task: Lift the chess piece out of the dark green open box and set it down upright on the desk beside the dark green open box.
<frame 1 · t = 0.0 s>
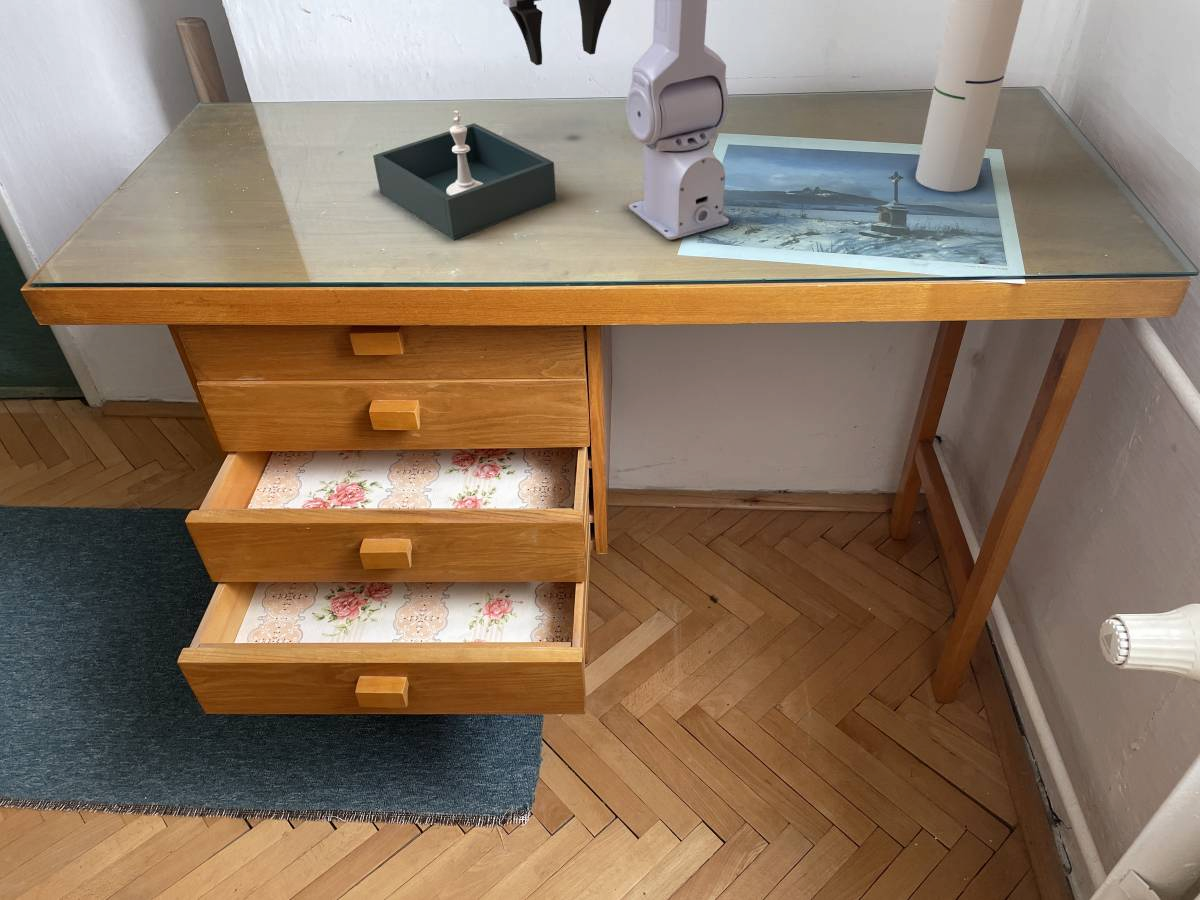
hand: (563, 57, 118), 10 cm above the table, tool pointing down, fingers open, 7 cm apart
dark green open box: (467, 196, 111), on the table
chess piece: (466, 195, 111), resting on dark green open box
cylindrical container: (945, 180, 111), on the table
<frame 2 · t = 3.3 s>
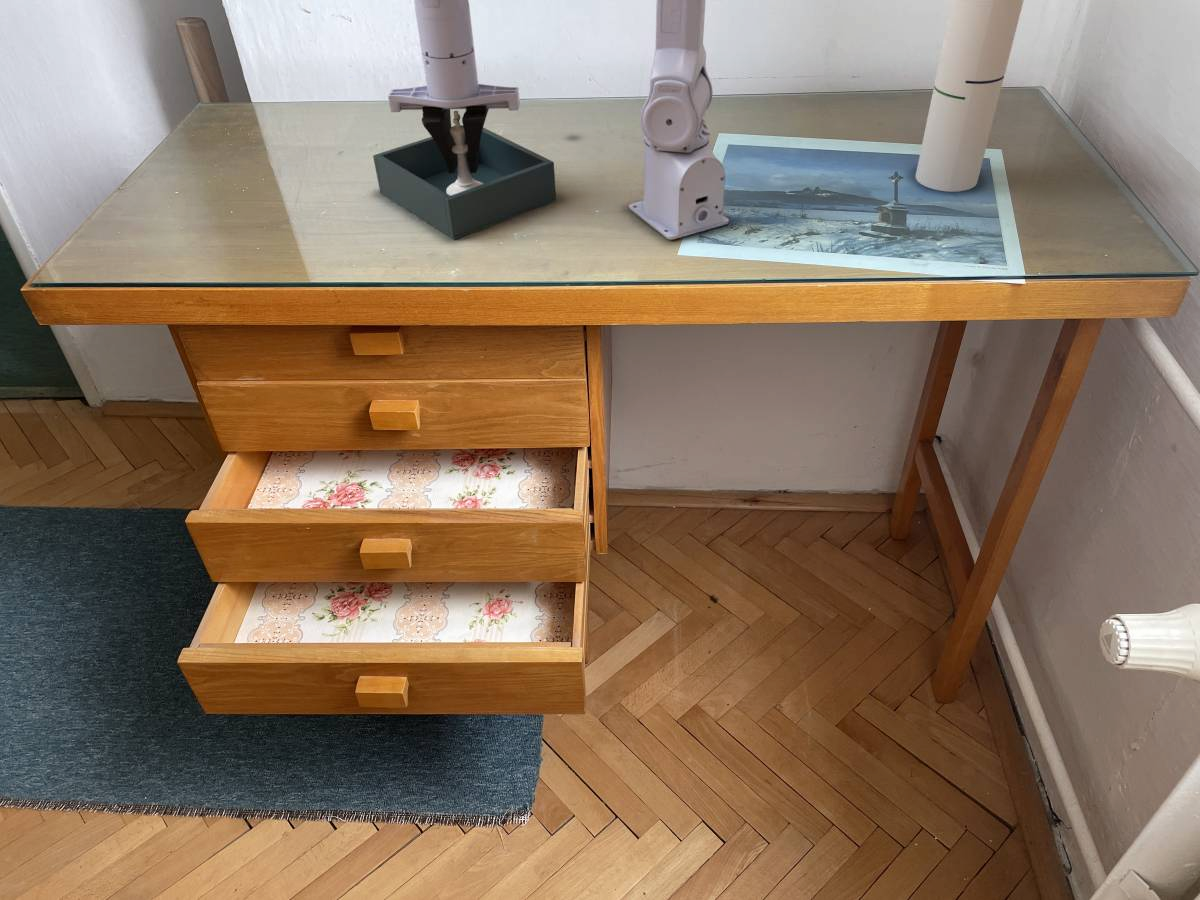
hand: (463, 169, 108), 3 cm above the table, tool pointing down, fingers closed on chess piece
chess piece: (466, 195, 111), resting on dark green open box, touching gripper
everything else where it was.
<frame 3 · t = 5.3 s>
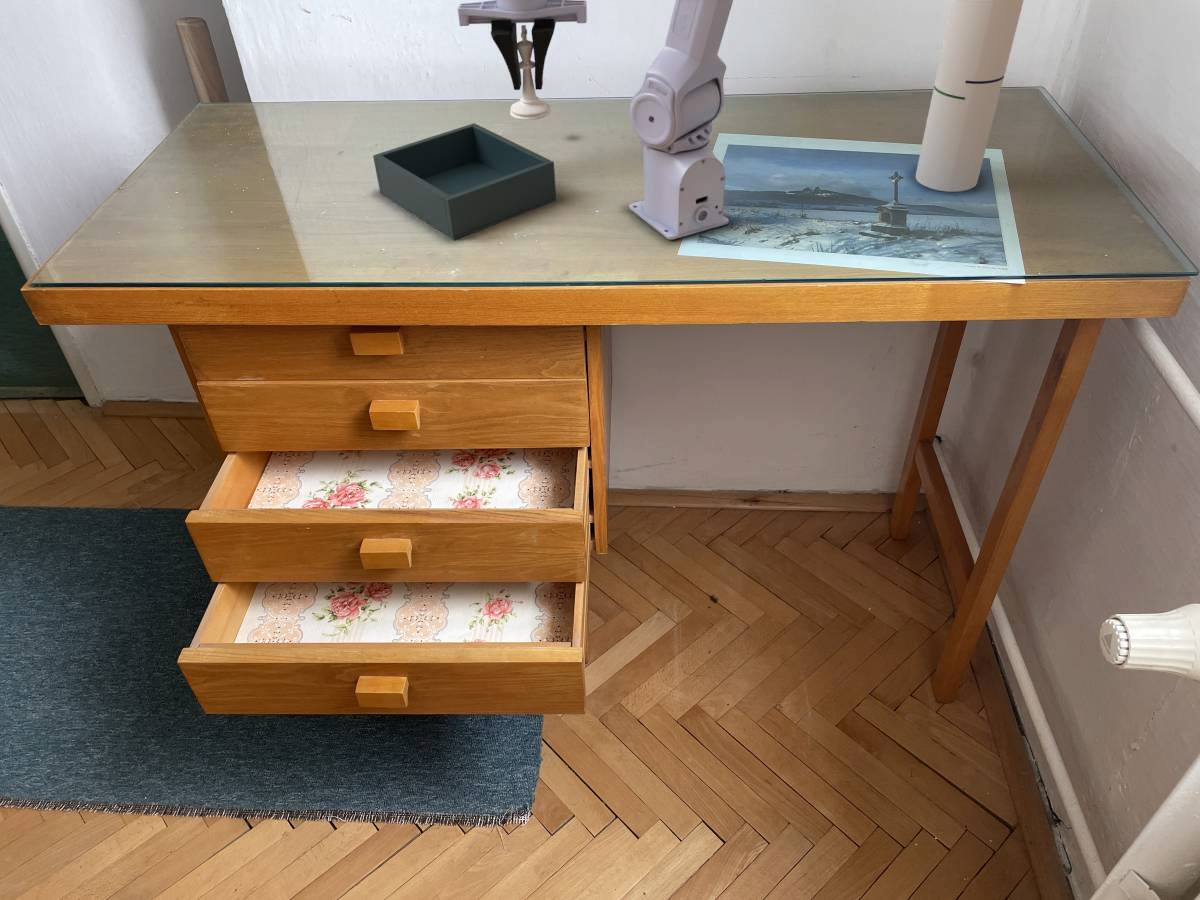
hand: (528, 87, 109), 10 cm above the table, tool pointing down, fingers closed on chess piece
chess piece: (530, 114, 111), point 7 cm above the table, touching gripper
everything else where it was.
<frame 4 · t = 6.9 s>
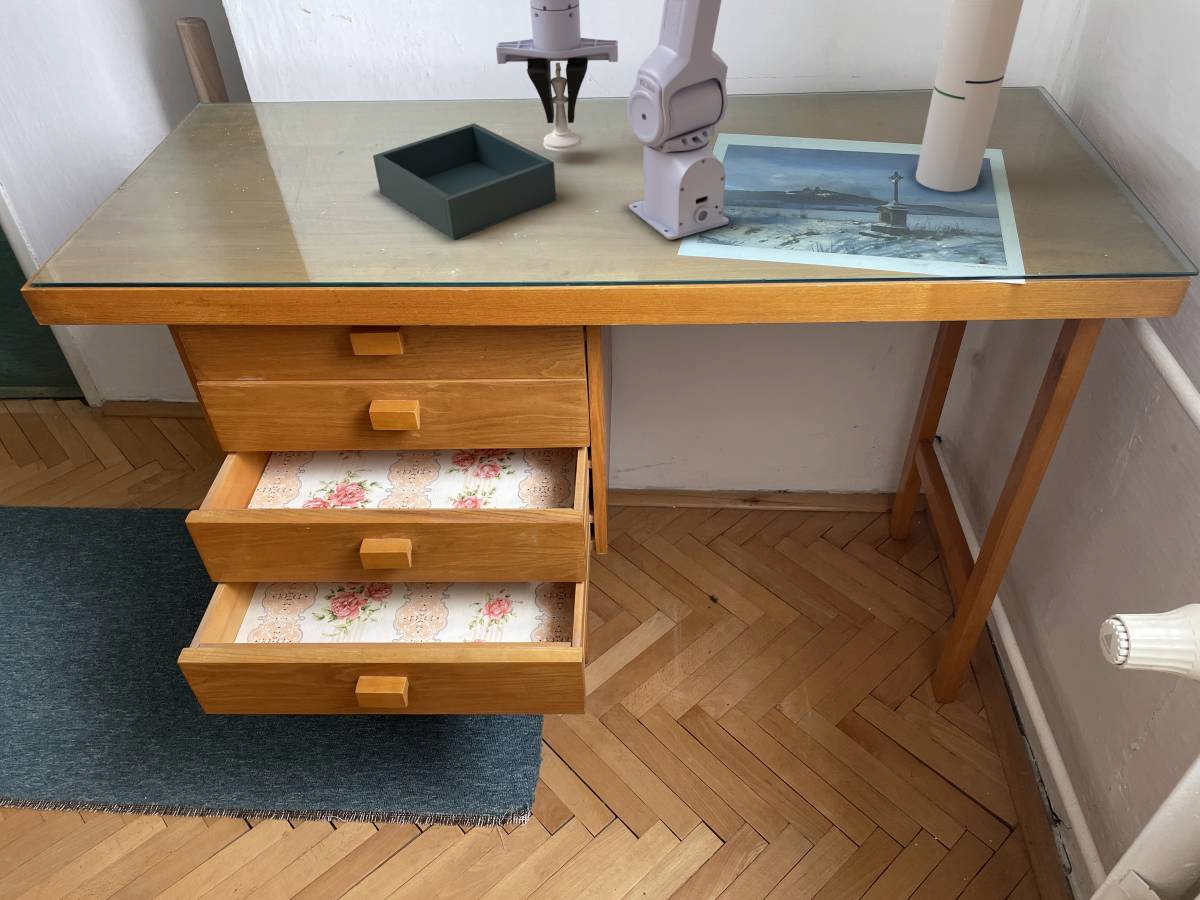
hand: (561, 120, 115), 5 cm above the table, tool pointing down, fingers closed on chess piece
chess piece: (562, 145, 117), point 2 cm above the table, touching gripper
everything else where it was.
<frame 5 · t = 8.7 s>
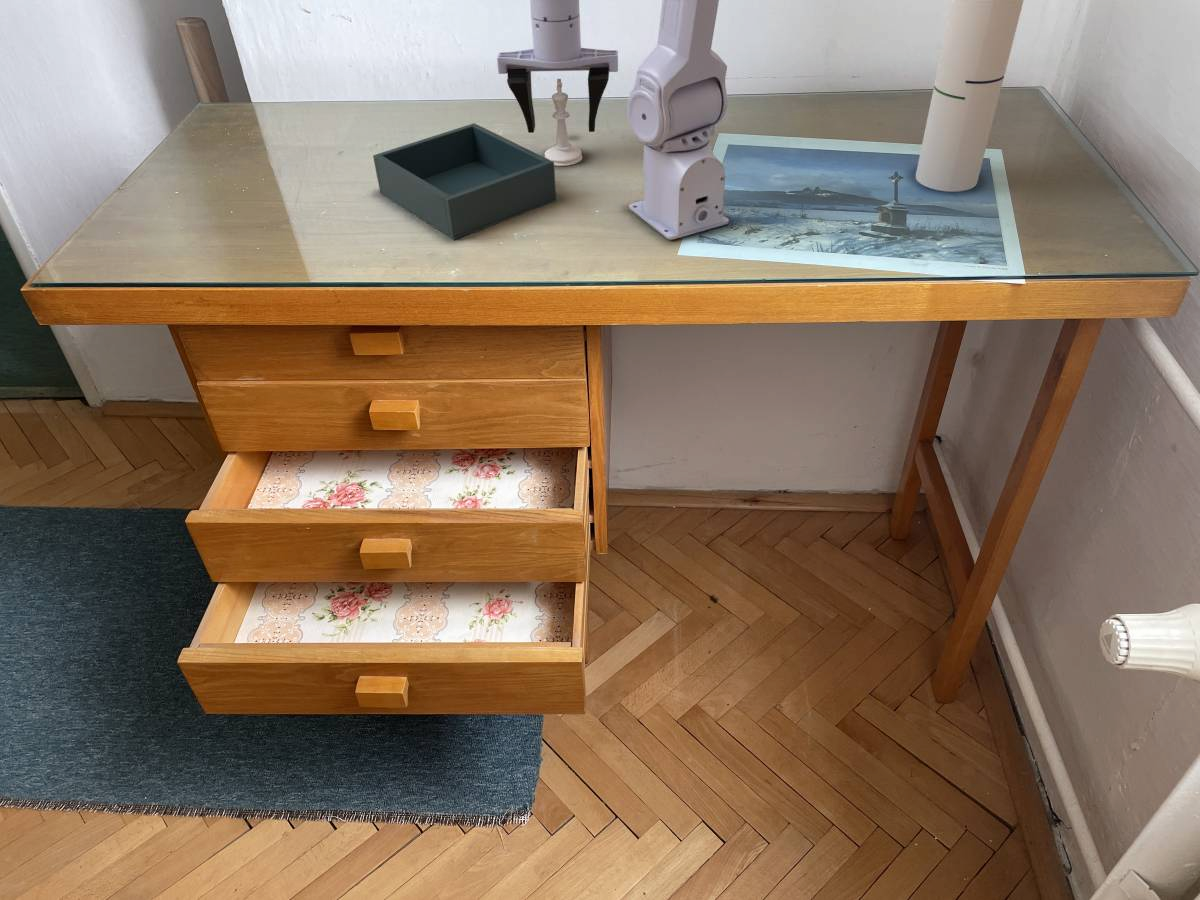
hand: (561, 129, 116), 4 cm above the table, tool pointing down, fingers open, 7 cm apart
chess piece: (563, 159, 119), on the table
everything else where it was.
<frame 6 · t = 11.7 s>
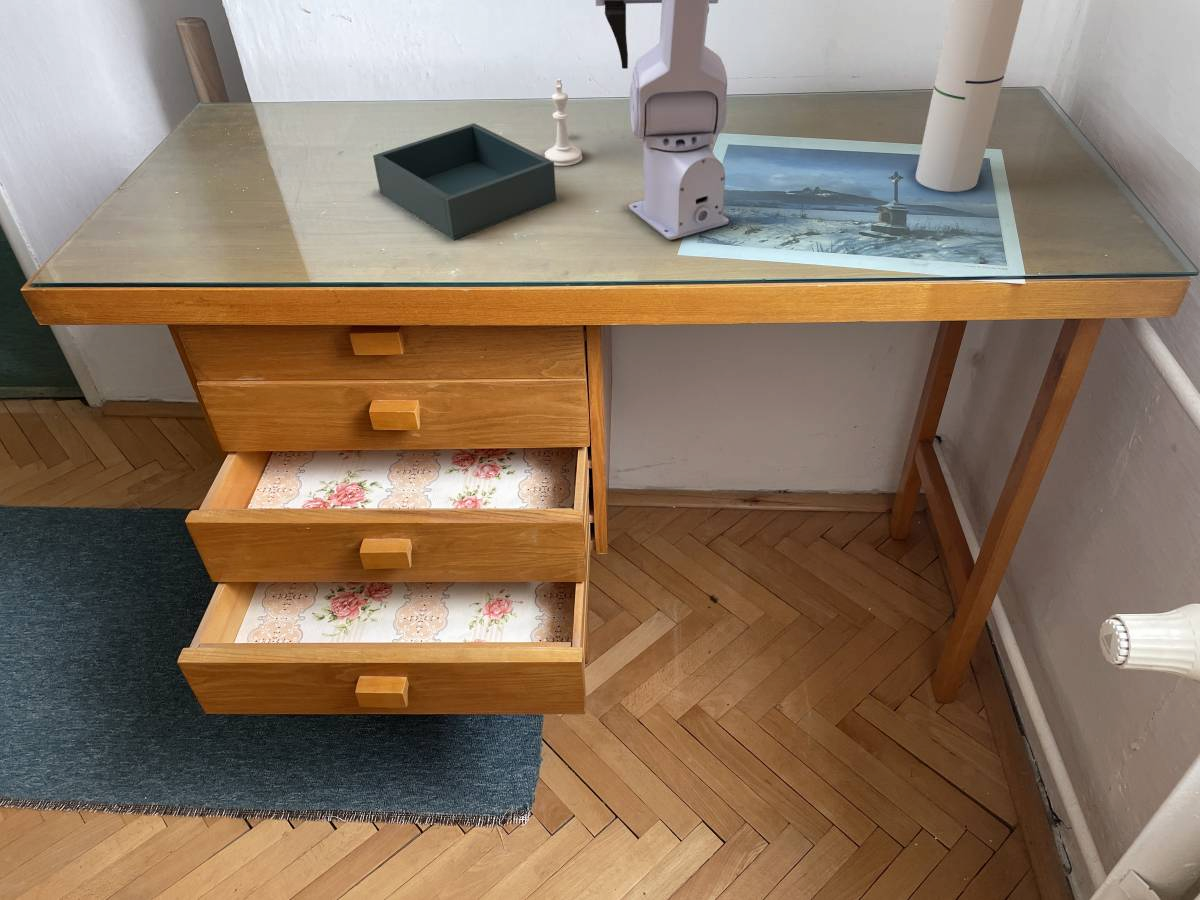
hand: (655, 65, 114), 10 cm above the table, tool pointing down, fingers open, 7 cm apart
nothing on the table moved.
at the end: chess piece inside the target area (0.0 cm from its centre), on the table; chess piece tilted 0°; the gripper is holding nothing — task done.
